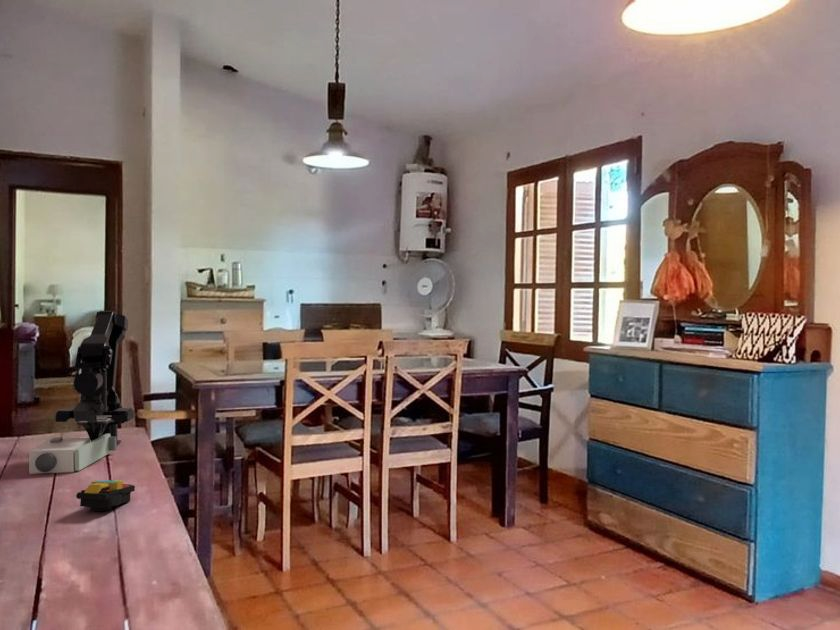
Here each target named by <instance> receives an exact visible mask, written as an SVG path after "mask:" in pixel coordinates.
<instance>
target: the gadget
mask: <svg viewBox="0 0 840 630" xmlns="http://www.w3.org/2000/svg"><path fill="white" fill-rule="evenodd" d="M135 488H136V486H135V485H133V484H130V483H128V484H126V483H124V482H123V480H121V479H111V480H110V479H108V480H93V481H91V484H89V485H88V486H87V488H85V489H82V490H80V491H78V492H77V493H76V496H75V498H76V499H77V500H80V501H79V503H80V507H85V508H90V510H91V511H92V512H105V511H107V512H108V511H110V510H111V509H112V507H115V506H118V505H121V504H124V503H128V502H131V493H133V492H135V490H136V489H135Z"/></svg>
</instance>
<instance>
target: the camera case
mask: <svg viewBox="0 0 840 630" xmlns="http://www.w3.org/2000/svg"><path fill="white" fill-rule="evenodd" d="M89 442H91V440H90V438H89V437H70V438H69V437H68V438H67V437H66V438H63V437H53V438H49V439H46V440H45V441H44V442H42V443H40V444H39V445H37V446H35V447H34V448H32V449H30V450H29V451H28V457H29V458H28V461H29V462H28V465H29V467H28V468H29V470H28V472H29V475H30V474H31V475H32V474H33V475H34V474H56V473H59V474H60V473H74V472H76V471H75V449H77V448H79V447H81V446H83V445H85V444H87V443H89Z"/></svg>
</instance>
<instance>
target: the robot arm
mask: <svg viewBox="0 0 840 630" xmlns="http://www.w3.org/2000/svg"><path fill="white" fill-rule="evenodd" d="M128 330H129V320H128V318H127V317H126V315H123V314H120V313H117V312H116V311H114V310H99V311H97V312H96V314H95V315H94V325H93V327H92V330H91V333H90V336H88V337H85V338H83V339H82V341H81V343H80V345H79V346H78V347H77V351H76V357H75V364H74V369H75V370H81V371H80V373H79V374H77V375H76V376H75V378H74V380H73V388H74V390H75V391H76V392H77V393H78V394H80V401H79V402H78V403H77V404H76V405H75V406H74V407H65V408H62V409H59V410H57V411H56V412H55V414H54V422H55V423H66V422H68V421H69V420H70V419H74V421H75V422H77V425H78V426H81V427H82V428H84V430H85V431H86V433H87V435H88V438H90V442H91V441H93V440H95V439H97V438H99V437H101V436H103V435H105V434H110V436H116V442H117V446H118V445H119V444H120V443H122V440H121V439H120V440H119V439H118V425H122V424H125V423H127V422H129V421H131V420H133V419H135V411H134V409H133V408H132V407H129V408H128V407H125V408H124V407H123V406H122V403H121V400H120V397H119V396H118V394H117V393H116V382H117V381H116V378H117V370H118V369H117V368H118V358H119V357H118V355H119V346H120V345H121V343H122V342H123V341H124V340H125V339H126V332H127V331H128Z"/></svg>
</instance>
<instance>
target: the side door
mask: <svg viewBox="0 0 840 630" xmlns="http://www.w3.org/2000/svg"><path fill="white" fill-rule="evenodd" d="M117 447H118V445H117V442H116V436H110V434H105V435H103V436H101V437H99V438H97V439H95V440H93V441H91V440H90V442H89V443H87V444H85V445H83V446H81V447H79V448H77V449H75V471H74V472H76V471H77V472H78V471H81V470H83V469H85V468H87V467H89V466H90V465H91V464H93V463H95V462H98V461H99V460H100V459H102V458H103V457H106V456H107V455H109V454H111V451H112V452H115V451H117V450H118V449H117Z"/></svg>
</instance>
